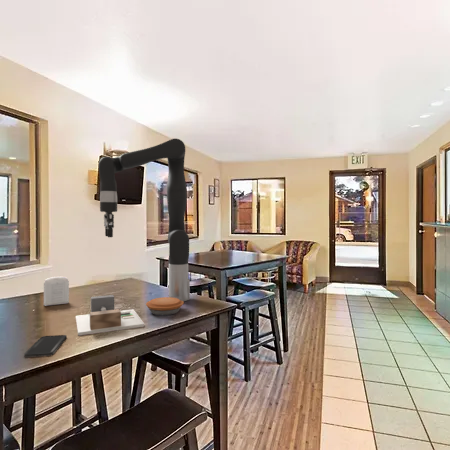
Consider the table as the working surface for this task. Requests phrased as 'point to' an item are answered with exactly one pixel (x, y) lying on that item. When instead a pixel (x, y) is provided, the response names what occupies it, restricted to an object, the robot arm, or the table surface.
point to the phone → (45, 346)
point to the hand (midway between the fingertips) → (108, 236)
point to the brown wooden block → (105, 319)
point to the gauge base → (126, 323)
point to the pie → (164, 305)
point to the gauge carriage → (103, 303)
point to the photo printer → (56, 291)
